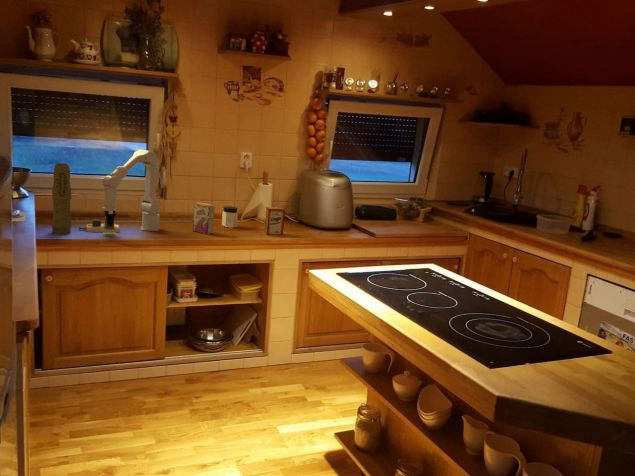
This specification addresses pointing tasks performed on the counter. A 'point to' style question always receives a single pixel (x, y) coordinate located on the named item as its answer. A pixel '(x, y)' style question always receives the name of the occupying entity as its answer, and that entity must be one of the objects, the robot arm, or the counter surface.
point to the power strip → (99, 228)
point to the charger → (108, 226)
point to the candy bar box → (203, 218)
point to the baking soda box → (274, 220)
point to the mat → (109, 234)
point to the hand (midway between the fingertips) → (109, 225)
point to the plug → (96, 222)
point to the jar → (229, 216)
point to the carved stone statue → (61, 199)
